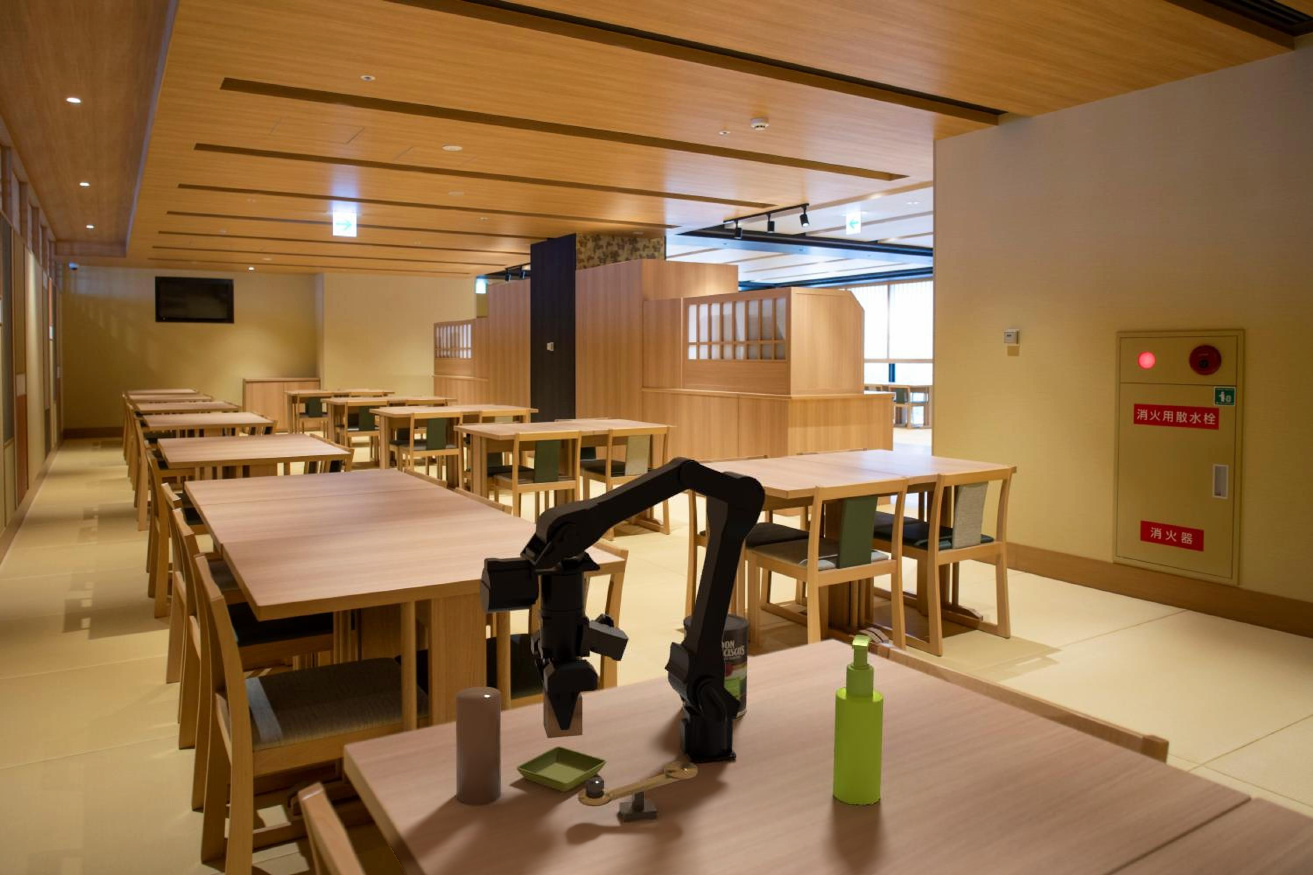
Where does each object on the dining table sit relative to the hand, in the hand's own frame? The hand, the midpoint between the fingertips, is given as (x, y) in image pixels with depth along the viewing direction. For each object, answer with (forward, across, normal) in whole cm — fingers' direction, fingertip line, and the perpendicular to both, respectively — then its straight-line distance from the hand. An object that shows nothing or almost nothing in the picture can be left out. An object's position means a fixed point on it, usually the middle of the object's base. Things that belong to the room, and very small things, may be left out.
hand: (562, 722), depth 125 cm
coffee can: (+8, +19, -27) cm, 34 cm away
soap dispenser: (+8, -13, -36) cm, 39 cm away
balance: (+7, -12, -7) cm, 16 cm away
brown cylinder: (+7, -3, +11) cm, 14 cm away
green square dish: (+8, 0, 0) cm, 8 cm away
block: (+1, 0, 0) cm, 1 cm away
